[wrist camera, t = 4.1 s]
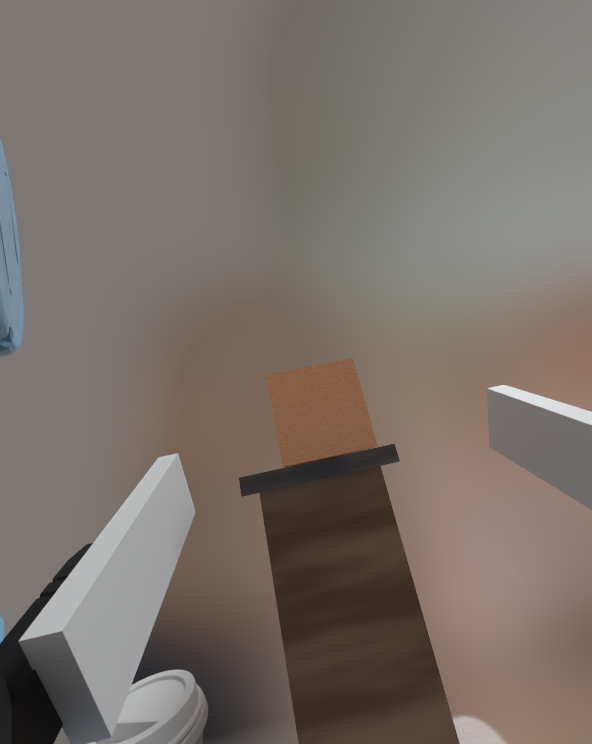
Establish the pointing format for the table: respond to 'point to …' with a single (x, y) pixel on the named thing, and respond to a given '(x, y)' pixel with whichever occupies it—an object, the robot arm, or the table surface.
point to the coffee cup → (162, 711)
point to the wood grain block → (319, 412)
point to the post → (349, 606)
